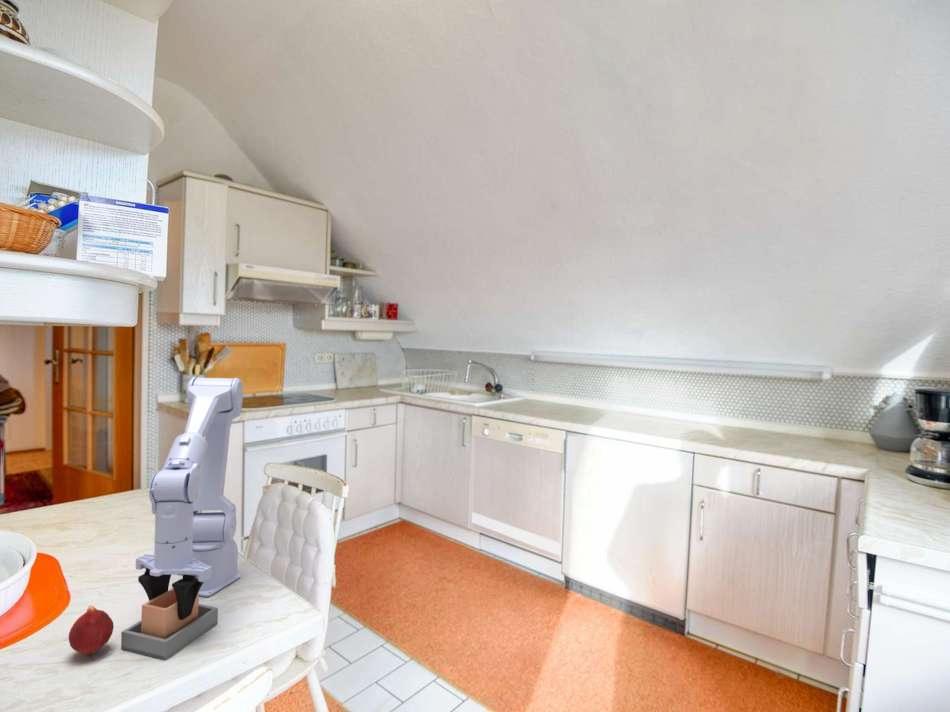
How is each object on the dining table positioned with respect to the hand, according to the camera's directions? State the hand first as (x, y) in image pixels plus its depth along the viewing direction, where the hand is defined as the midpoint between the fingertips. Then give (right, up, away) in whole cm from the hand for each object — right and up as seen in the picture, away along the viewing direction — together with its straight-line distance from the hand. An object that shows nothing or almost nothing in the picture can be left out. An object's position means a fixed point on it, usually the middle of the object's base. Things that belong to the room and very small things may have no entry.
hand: (172, 614), depth 88 cm
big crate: (0, -4, 0) cm, 4 cm away
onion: (-10, -4, -6) cm, 12 cm away
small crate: (0, -2, 0) cm, 2 cm away
